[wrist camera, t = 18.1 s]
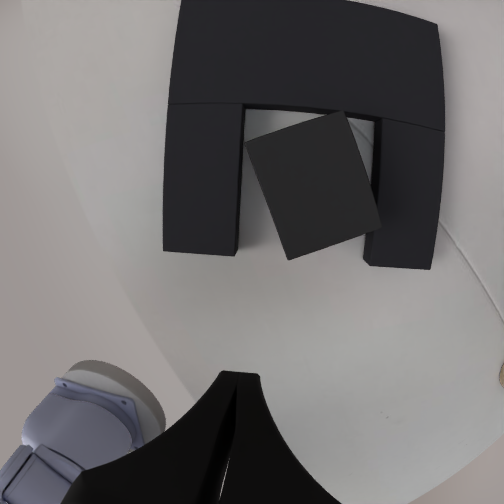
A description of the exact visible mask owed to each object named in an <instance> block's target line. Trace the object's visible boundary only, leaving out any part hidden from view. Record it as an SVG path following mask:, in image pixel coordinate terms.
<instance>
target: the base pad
mask: <svg viewBox="0 0 504 504" xmlns="http://www.w3.org/2000/svg"><path fill="white" fill-rule="evenodd" d="M168 104H169V105H168V110H167V123H166V138H165V157H164V182H163V251H168V252H181V253H194V254H207V255H221V256H235V254H236V252H237V250H238V236H239V215H240V195H241V176H242V158H243V141H244V124H245V109H267V110H283V111H296V112H307V113H317V114H326V115H328V114H331V113H334V112H338V111H341V110H343V111H344V112H345V115H346V117H349V118H356V119H363V120H369V121H375V128H374V152H373V168H372V182H371V189H372V192H373V195H374V199H375V202H376V205H377V209H378V212H379V216H380V220H381V223H382V228H380V229H377V230H375V231H372V232H369V233H366V240H365V247H364V255H363V260H364V261H365V262H366V263H367V264H368V265H369V266H379V267H394V268H409V269H424V270H430V269H431V264H432V258H433V253H434V247H435V241H436V234H437V227H438V220H439V212H440V203H441V193H442V182H443V168H444V145H445V97H444V79H443V66H442V56H441V47H440V39H439V32H438V25H437V24H435V23H432V22H430V21H427V20H424V19H420V18H417V17H414V16H411V15H407V14H404V13H400V12H397V11H393V10H389V9H385V8H381V7H377V6H372V5H368V4H363V3H358V2H353V1H347V0H181V6H180V12H179V18H178V24H177V31H176V37H175V45H174V52H173V60H172V69H171V78H170V87H169V98H168Z"/></svg>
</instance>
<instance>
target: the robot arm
mask: <svg viewBox="0 0 504 504" xmlns="http://www.w3.org/2000/svg"><path fill="white" fill-rule="evenodd" d="M54 382H55V385H56V386H55V387H54V388H53V389H52V391H51V392H50V393H49V394H48V395H47V396H46V397H45V398H44V399H43V400H42V402H41V403H40V404H39V405H38V406H37V407H36V408H35V409H34V410H33V412H32V413H31V414H30V415H29V417H28V418H27V419H26V421H25V424H24V427H23V430H22V443H23V445H20V446H19V448H18V449H17V450H16V451H15V452H14V453H13V455H12V456H11V457H10V458H9V460H8V461H7V462H6V463H5V465H4V466H3V467H2V469H1V470H0V504H7V503H8V504H341V503H340V502H339V501H337V500H336V499H335V498H334V497H333V496H332V495H330V494H329V493H328V492H327V491H326V490H325V489H324V488H323V487H322V486H321V485H320V484H319V483H318V482H317V481H316V480H315V479H314V478H313V477H312V476H311V475H310V474H309V473H308V471H307V470H306V469H305V468H304V467H303V466H302V465H301V463H300V462H299V461H298V460H297V458H296V457H295V455H294V454H293V453H292V451H291V450H290V448H289V447H288V445H287V444H286V442H285V441H284V439H283V437H282V436H281V434H280V432H279V430H278V428H277V426H276V424H275V422H274V420H273V418H272V416H271V414H270V411H269V409H268V406H267V404H266V401H265V398H264V395H263V391H262V387H261V382H260V376H259V375H258V374H257V373H245V372H233V371H221V372H220V373H219V375H218V376H217V378H216V379H215V381H214V382H213V383H212V385H211V386H210V387H209V389H208V390H207V391H206V392H205V393H204V395H203V396H202V397H201V398H200V399H199V400H198V401H197V403H196V404H195V405H194V406H193V407H192V408H191V409H190V410H189V411H188V412H187V413H186V414H185V415H184V416H183V417H182V418H180V419H179V420H178V421H177V422H176V423H175V424H174V425H172V426H171V427H170V428H169V429H167V430H166V431H165V432H163V433H162V434H161V435H159V436H158V437H156V438H155V439H153V440H152V441H150V442H149V443H147V444H145V443H144V439H143V435H142V431H141V427H140V423H139V419H138V414H137V410H136V405H135V402H134V400H133V399H131V398H128V397H124V396H120V395H116V394H112V393H109V392H105V391H101V390H98V389H94V388H91V387H87V386H84V385H81V384H77V383H74V382H71V381H68V380H65V379H62V378H59V377H56V378H55V379H54ZM129 449H133V450H135V451H133V452H131V453H129V454H127V453H128V451H129ZM228 461H229V463H228ZM227 465H228V468H227ZM226 469H227V472H226ZM225 472H226V476H225ZM224 476H225V481H224V485H223V489H222V493H221V488H222V483H223V479H224ZM220 493H221V497H220ZM219 499H220V500H219ZM5 501H6V502H7V503H6V502H5Z"/></svg>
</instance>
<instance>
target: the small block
mask: <svg viewBox="0 0 504 504" xmlns="http://www.w3.org/2000/svg"><path fill="white" fill-rule="evenodd" d="M245 147H246V149H247V152H248V154H249V157H250V160H251V162H252V165H253V167H254V170H255V173H256V175H257V178H258V181H259V183H260V186H261V189H262V191H263V194H264V197H265V199H266V202H267V205H268V207H269V210H270V213H271V215H272V218H273V221H274V224H275V226H276V229H277V232H278V235H279V237H280V240H281V243H282V246H283V249H284V251H285V254H286V257H287V259H288V260H292V259H295V258H298V257H300V256H303V255H306V254H309V253H312V252H315V251H318V250H321V249H324V248H326V247H329V246H332V245H335V244H338V243H341V242H344V241H346V240H349V239H352V238H355V237H358V236H360V235H363V234H366V233H369V232H372V231H375V230H377V229H380V228H382V223H381V220H380V216H379V212H378V209H377V205H376V202H375V199H374V195H373V192H372V189H371V186H370V182H369V179H368V176H367V173H366V170H365V167H364V164H363V161H362V158H361V155H360V152H359V150H358V147H357V144H356V141H355V139H354V136H353V133H352V130H351V128H350V125H349V123H348V120H347V117H346V115H345V112H344V111H343V110H341V111H338V112H334V113H331V114H328V115H324V116H321V117H318V118H314V119H311V120H308V121H305V122H302V123H299V124H296V125H293V126H290V127H287V128H284V129H281V130H278V131H275V132H272V133H269V134H266V135H264V136H261V137H258V138H255V139H253V140H250V141H247V142H245Z"/></svg>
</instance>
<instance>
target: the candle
mask: <svg viewBox="0 0 504 504" xmlns="http://www.w3.org/2000/svg"><path fill="white" fill-rule="evenodd" d="M500 383H501V385H502V386H503V388H504V364H503V367H502V369H501V372H500Z"/></svg>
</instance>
